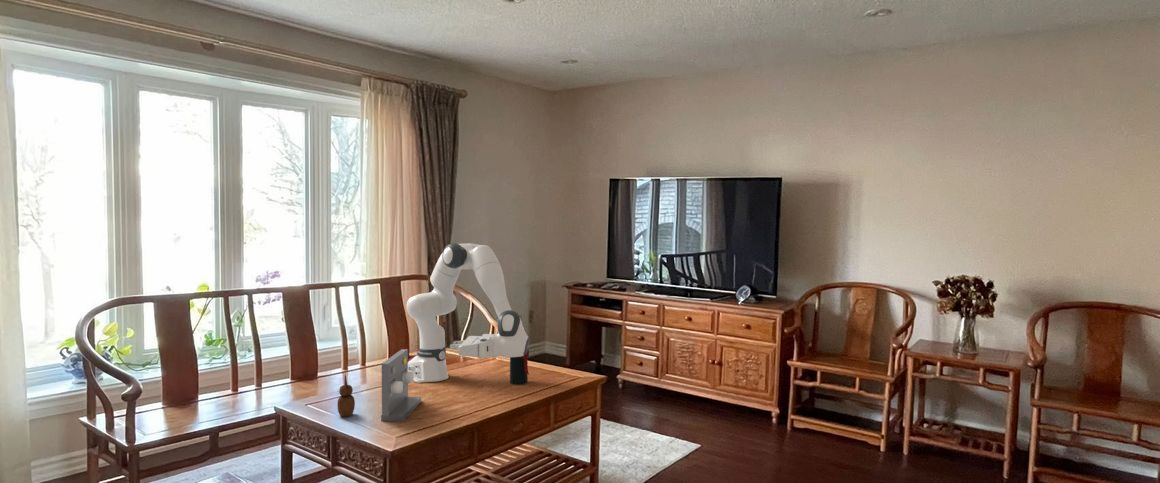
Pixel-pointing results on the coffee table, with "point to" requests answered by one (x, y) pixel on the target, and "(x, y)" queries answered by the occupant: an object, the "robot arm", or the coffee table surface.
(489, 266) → the robot arm
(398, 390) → the unlit button
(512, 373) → the wine bottle
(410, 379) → the beige rounded lump
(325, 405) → the coffee table surface
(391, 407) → the control panel
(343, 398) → the wooden figurine
